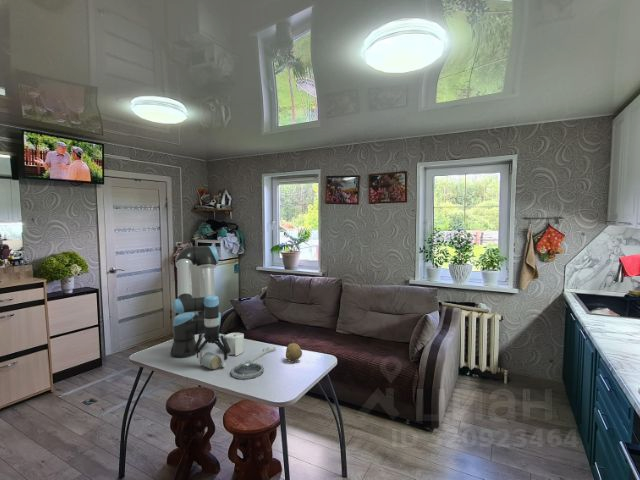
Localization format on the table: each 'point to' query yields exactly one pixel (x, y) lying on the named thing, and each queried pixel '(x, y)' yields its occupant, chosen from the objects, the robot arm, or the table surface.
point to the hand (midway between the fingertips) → (212, 365)
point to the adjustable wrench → (261, 354)
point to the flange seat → (247, 371)
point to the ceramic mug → (211, 360)
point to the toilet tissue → (235, 343)
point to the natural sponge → (293, 352)
